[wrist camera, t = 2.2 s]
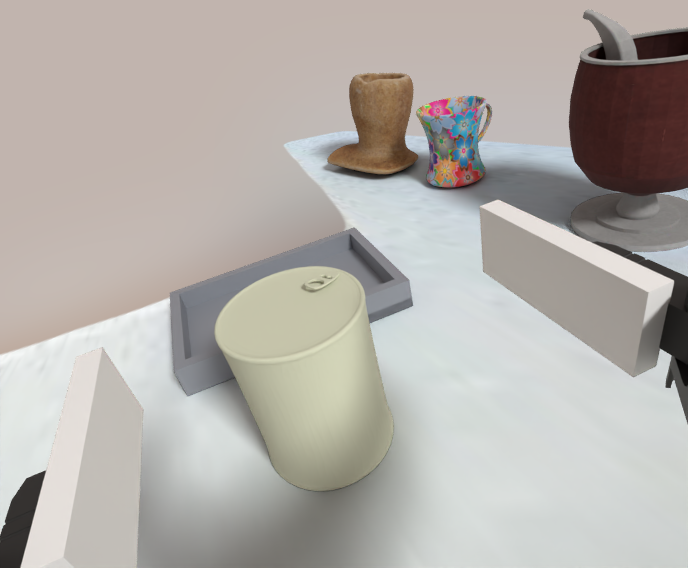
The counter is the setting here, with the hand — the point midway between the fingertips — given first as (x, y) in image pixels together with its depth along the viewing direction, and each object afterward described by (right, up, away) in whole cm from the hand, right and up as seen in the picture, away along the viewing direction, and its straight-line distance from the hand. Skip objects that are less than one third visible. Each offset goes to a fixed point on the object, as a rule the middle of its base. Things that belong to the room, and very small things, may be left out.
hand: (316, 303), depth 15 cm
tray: (-5, -2, +32) cm, 32 cm away
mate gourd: (+31, +7, +33) cm, 46 cm away
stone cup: (+7, +21, +63) cm, 67 cm away
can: (0, -10, +18) cm, 20 cm away
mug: (+19, +17, +52) cm, 58 cm away
